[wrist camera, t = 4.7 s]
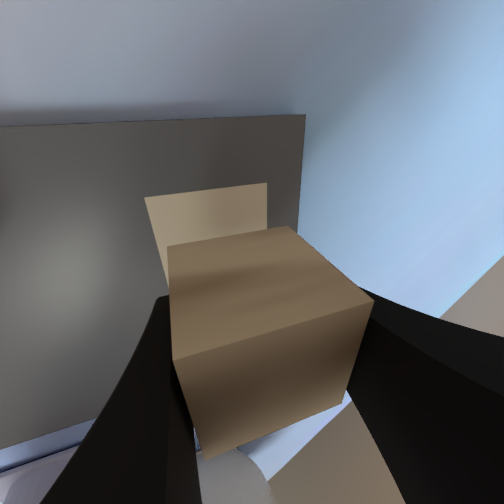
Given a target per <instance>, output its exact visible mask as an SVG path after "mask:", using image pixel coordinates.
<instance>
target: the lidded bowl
mask: <svg viewBox="0 0 504 504" xmlns="http://www.w3.org/2000/svg"><path fill="white" fill-rule="evenodd" d="M196 458H197V466H198V474H199V482H200V490H201V498H202V504H276V502H275V499H274V497H273V494H272V492H271V489H270V487H269V485H268V483H267V481H266V479H265V477H264V475H263V473H262V471H261V470H260V468H259V467H258V466H257V464H256V463H255V462H254V461H253V460H252V459H251V458H249V457H248V456H247V455H246V454H244V453H242V452H240V451H238V449H237V447H236V448H234V449H232V450H229V451H227V452H225V453H222V454H220V455H217V456H215V457H213V458H210V459H208V460H205V459H204V456H203V453H202V450H200V451H197V452H196Z"/></svg>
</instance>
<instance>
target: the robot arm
mask: <svg viewBox="0 0 504 504" xmlns="http://www.w3.org/2000/svg"><path fill="white" fill-rule="evenodd" d="M359 288H360V289H361V290H363V291H364V292H365V293H366V294H367V295H368V296H369V297H371V298H372V299H373V300H374V304H373V307H372V310H371V313H370V316H369V319H368V322H367V325H366V329H365V332H364V335H363V338H362V341H361V344H360V347H359V350H358V353H357V357H356V360H355V363H354V366H353V369H352V372H351V375H350V378H349V382H348V385H347V388H346V390H347V392H348V394H349V395H350V397H351V399H352V401H353V402H354V404H355V406H356V408H357V409H358V411H359V413H360V415H361V417H362V418H363V420H364V422H365V424H366V426H367V428H368V430H369V431H370V433H371V435H372V437H373V438H374V441H375V443H376V445H377V446H378V448H379V450H380V452H381V454H382V456H383V458H384V460H385V462H386V464H387V466H388V468H389V470H390V472H391V474H392V476H393V478H394V480H395V482H396V484H397V486H398V488H399V491H400V493H401V495H402V497H403V499H404V501H405V503H406V504H504V337H500V336H496V335H493V334H489V333H485V332H481V331H478V330H474V329H471V328H468V327H464V326H461V325H458V324H454V323H451V322H448V321H445V320H441V319H439V318H435V317H432V316H430V315H427V314H424V313H421V312H419V311H416V310H413V309H410V308H407V307H405V306H402V305H400V304H397V303H395V302H392V301H390V300H388V299H385V298H383V297H381V296H378V295H376V294H374V293H371V292H369V291H367V290H365V289H363V288H361V287H359ZM0 501H2V502H3V504H202V498H201V490H200V482H199V474H198V466H197V458H196V450H195V439H194V425H193V422H192V419H191V416H190V413H189V410H188V407H187V404H186V400H185V397H184V394H183V391H182V388H181V385H180V382H179V379H178V376H177V373H176V369H175V366H174V363H173V357H172V338H171V318H170V299H169V295H165V296H161V297H158V298H157V299H156V301H155V304H154V307H153V310H152V312H151V315H150V317H149V320H148V322H147V325H146V327H145V329H144V332H143V334H142V336H141V338H140V340H139V343H138V345H137V347H136V349H135V351H134V353H133V355H132V357H131V359H130V361H129V363H128V365H127V367H126V368H125V370H124V372H123V374H122V376H121V378H120V380H119V382H118V384H117V385H116V387H115V389H114V391H113V392H112V394H111V396H110V397H109V399H108V401H107V403H106V404H105V406H104V408H103V409H102V411H101V412H100V414H99V416H98V417H97V419H96V421H95V422H94V424H93V425H92V427H91V429H90V430H89V432H88V433H87V435H86V436H85V438H84V439H83V441H82V442H81V444H80V445H78V446H75V447H73V448H70V449H67V450H64V451H61V452H59V453H56V454H53V455H50V456H47V457H44V458H42V459H39V460H36V461H33V462H30V463H28V464H25V465H22V466H19V467H16V468H13V469H11V470H8V471H5V472H2V473H0Z"/></svg>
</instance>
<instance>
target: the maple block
mask: <svg viewBox="0 0 504 504" xmlns="http://www.w3.org/2000/svg"><path fill="white" fill-rule="evenodd" d="M167 260H168V280H169V299H170V318H171V338H172V357H173V363H174V366H175V369H176V373H177V376H178V379H179V382H180V385H181V388H182V391H183V394H184V397H185V400H186V404H187V407H188V410H189V413H190V416H191V419H192V422H193V425H194V428H195V432H196V435H197V438H198V441H199V444H200V447H201V450H202V453H203V456H204V459H205V460H208V459H210V458H213V457H215V456H217V455H220V454H222V453H225V452H227V451H229V450H232V449H234V448H236V447H239V446H241V445H244V444H246V443H248V442H251V441H253V440H256V439H258V438H260V437H263V436H265V435H267V434H270V433H272V432H275V431H277V430H279V429H282V428H284V427H287V426H289V425H291V424H294V423H296V422H298V421H301V420H303V419H306V418H308V417H310V416H313V415H315V414H318V413H320V412H322V411H325V410H327V409H329V408H332V407H334V406H337V405H339V404H341V403H342V400H343V397H344V394H345V391H346V388H347V385H348V382H349V378H350V375H351V372H352V369H353V366H354V363H355V360H356V357H357V353H358V350H359V347H360V344H361V341H362V338H363V335H364V332H365V329H366V325H367V322H368V319H369V316H370V313H371V310H372V307H373V304H374V300H373V299H372V298H371V297H369V296H368V295H367V294H366V293H365V292H364V291H363V290H361V289H360V288H359V287H358V286H357V285H356V284H355V283H353V282H352V281H351V280H350V279H349V278H348V277H346V276H345V275H344V274H343V273H342V272H341V271H340V270H338V269H337V268H336V267H335V266H334V265H333V264H331V263H330V262H329V261H328V260H327V259H326V258H325V257H323V256H322V255H321V254H320V253H319V252H318V251H317V250H315V249H314V248H313V247H312V246H311V245H310V244H308V243H307V242H306V241H305V240H304V239H303V238H302V237H300V236H299V235H298V234H297V233H296V232H295V231H294V230H292V229H291V228H290V227H289V226H282V227H276V228H270V229H264V230H259V231H253V232H247V233H241V234H235V235H230V236H224V237H218V238H212V239H206V240H201V241H195V242H189V243H183V244H177V245H172V246H167Z"/></svg>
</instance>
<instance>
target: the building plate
mask: <svg viewBox="0 0 504 504" xmlns="http://www.w3.org/2000/svg"><path fill="white" fill-rule="evenodd" d="M305 118H306V114H296V115H272V116H248V117H224V118H200V119H177V120H153V121H129V122H105V123H81V124H57V125H34V126H10V127H0V450H1V449H4V448H7V447H10V446H13V445H16V444H19V443H22V442H25V441H28V440H31V439H34V438H37V437H40V436H43V435H46V434H49V433H52V432H55V431H58V430H61V429H64V428H67V427H70V426H73V425H76V424H79V423H82V422H85V421H88V420H91V419H94V418H97V417H98V416H99V414H100V412H101V411H102V409H103V408H104V406H105V404H106V403H107V401H108V399H109V397H110V396H111V394H112V392H113V391H114V389H115V387H116V385H117V384H118V382H119V380H120V378H121V376H122V374H123V372H124V370H125V368H126V367H127V365H128V363H129V361H130V359H131V357H132V355H133V353H134V351H135V349H136V347H137V345H138V343H139V340H140V338H141V336H142V334H143V332H144V329H145V327H146V325H147V322H148V320H149V317H150V315H151V312H152V310H153V307H154V304H155V301H156V299H157V298H158V297H161V296H165V295H169V280H168V260H167V246H172V245H177V244H183V243H189V242H195V241H201V240H206V239H212V238H218V237H224V236H230V235H235V234H241V233H247V232H253V231H259V230H264V229H270V228H276V227H282V226H289V227H290V228H291V229H292V230H294V231H295V232H296V233H297V226H298V212H299V199H300V185H301V172H302V158H303V145H304V132H305Z"/></svg>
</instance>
